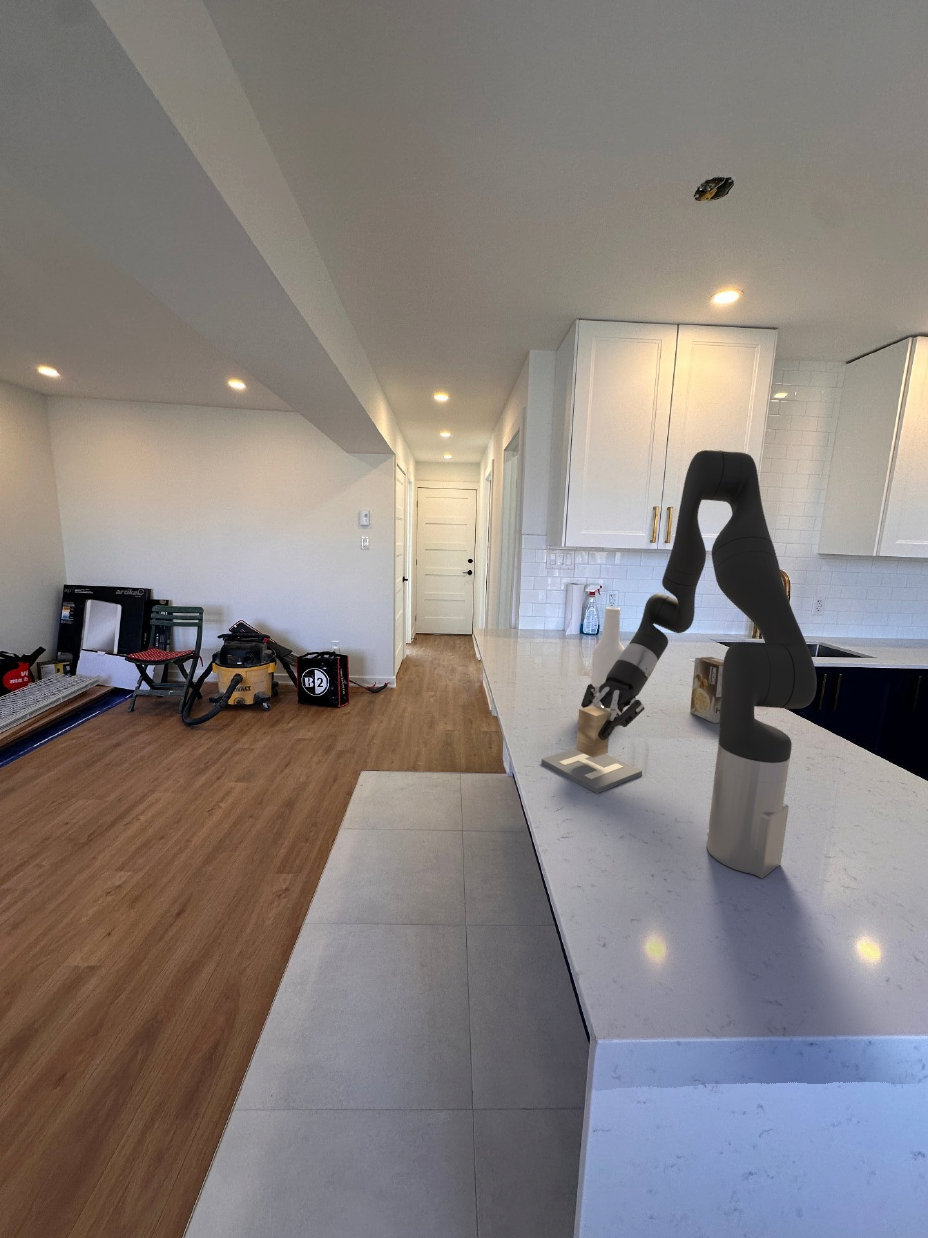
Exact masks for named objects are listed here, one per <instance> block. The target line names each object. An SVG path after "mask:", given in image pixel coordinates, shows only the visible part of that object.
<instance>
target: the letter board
mask: <svg viewBox="0 0 928 1238" xmlns="http://www.w3.org/2000/svg"><path fill="white" fill-rule="evenodd" d="M576 748H577V747H575V748H572V749H569V750H565V751H563V752H559V753H555V754H554V755H550V756H546V757H542V758H541V762H540V763H541V764H542V765H544V767H547V768H549V769H551V770H553V771H555V772H556V773H558V774H560V775H562V776H564V777H566V778H568V779H569V780H571V781H573V782H574V783H576V784H579V785H581V786H582V787H584V788H586V789H587V790H590V791H592V792H593V793H595V794H599V793H601V792H603V791H604V792H605V791H606V790H609V789H610V788H614V787H616V786H619V785H621V784H625V783H626V782H628V781H631V780H634V779H636V778H639V777H640V776H643V769H640V768H637V767H635V766H633V765H631V764H629V763H626V762H624V761H623V760H620V759H619V758H616V757H614V756H611V755H609V754H608V753H606V754H603V755H601V756H598V757H595V758H592V757H590V756H588V755H586V754H584V753H582V752H579V751H577V750H576Z"/></svg>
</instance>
